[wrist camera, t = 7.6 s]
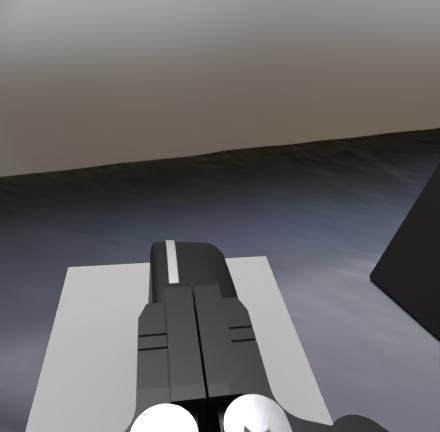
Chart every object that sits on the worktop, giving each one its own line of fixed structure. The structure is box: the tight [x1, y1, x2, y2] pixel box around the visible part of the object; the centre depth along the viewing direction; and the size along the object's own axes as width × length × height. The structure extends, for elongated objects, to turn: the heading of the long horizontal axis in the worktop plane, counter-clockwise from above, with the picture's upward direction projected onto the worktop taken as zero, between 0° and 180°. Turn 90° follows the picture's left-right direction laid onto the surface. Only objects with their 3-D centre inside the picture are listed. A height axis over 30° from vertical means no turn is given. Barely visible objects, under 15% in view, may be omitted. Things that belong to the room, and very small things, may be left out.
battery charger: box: [148, 240, 238, 304], centre depth 17 cm, size 7×4×11 cm
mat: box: [25, 256, 333, 432], centre depth 22 cm, size 14×14×1 cm
